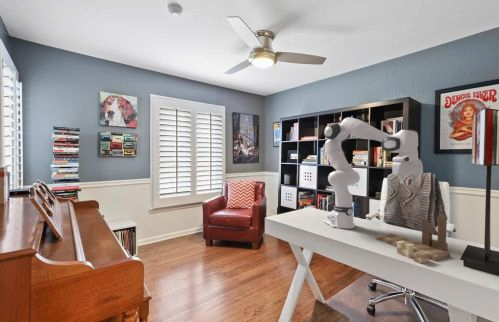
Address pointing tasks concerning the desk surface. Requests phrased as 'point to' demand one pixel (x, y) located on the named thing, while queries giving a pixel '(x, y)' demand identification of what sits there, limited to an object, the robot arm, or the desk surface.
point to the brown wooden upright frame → (435, 233)
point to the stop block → (421, 257)
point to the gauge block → (405, 249)
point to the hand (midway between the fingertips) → (407, 183)
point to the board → (415, 246)
